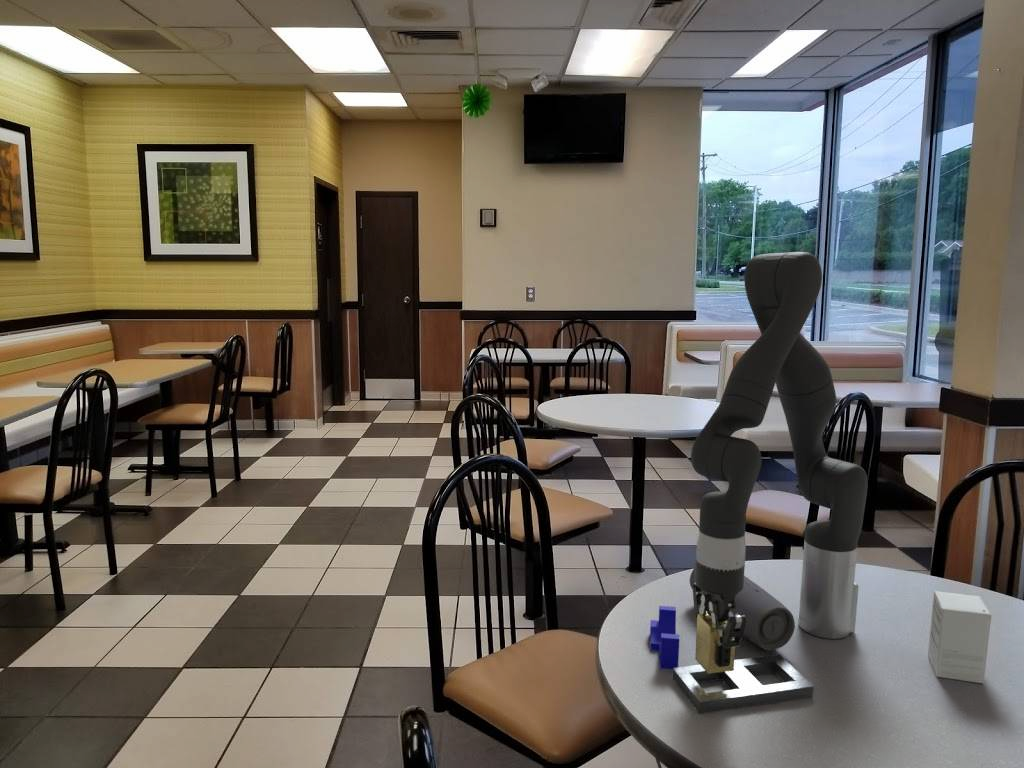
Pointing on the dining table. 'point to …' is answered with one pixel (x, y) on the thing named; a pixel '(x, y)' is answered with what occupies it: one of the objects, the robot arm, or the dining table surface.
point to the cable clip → (665, 637)
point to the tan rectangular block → (709, 645)
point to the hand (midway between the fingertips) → (715, 656)
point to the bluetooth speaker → (762, 616)
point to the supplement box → (959, 636)
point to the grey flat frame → (743, 684)
